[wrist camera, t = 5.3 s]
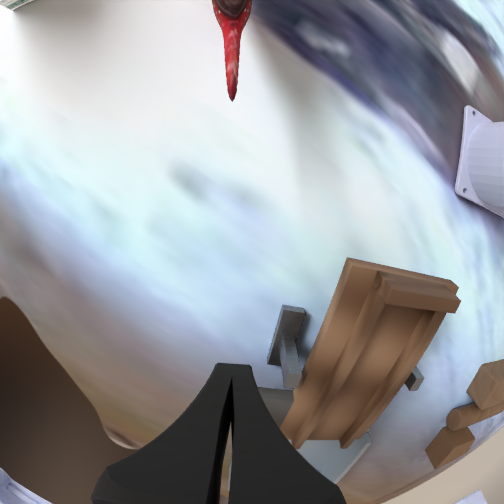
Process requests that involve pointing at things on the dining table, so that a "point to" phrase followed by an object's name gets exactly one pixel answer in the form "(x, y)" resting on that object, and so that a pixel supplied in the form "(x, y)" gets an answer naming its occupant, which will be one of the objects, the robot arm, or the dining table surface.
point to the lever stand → (287, 354)
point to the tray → (331, 456)
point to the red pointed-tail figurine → (232, 35)
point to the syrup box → (13, 3)
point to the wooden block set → (469, 415)
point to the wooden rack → (362, 352)
